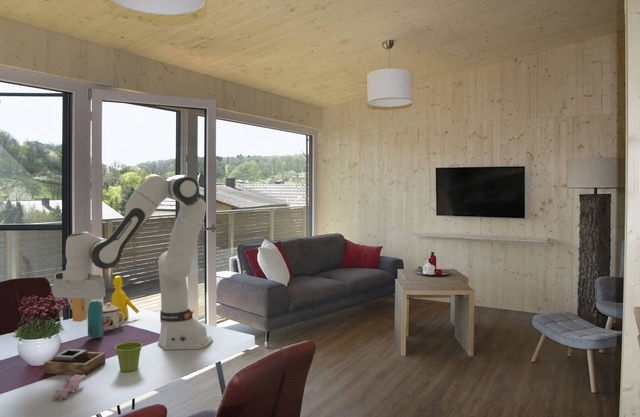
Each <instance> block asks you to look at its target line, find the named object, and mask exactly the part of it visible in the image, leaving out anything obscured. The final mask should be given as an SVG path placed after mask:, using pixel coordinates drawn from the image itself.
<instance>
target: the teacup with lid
mask: <svg viewBox="0 0 640 417" xmlns="http://www.w3.org/2000/svg"><path fill="white" fill-rule="evenodd" d="M111 303H112V302H107V303H106V305H104V306H102V307H103V324H104V325H103V327H104V329H103V331H110V330H111V331H112V330H115V329H117V328H119V327H120V323H123V321H124V320H125V319H124V318H125V315H124V314H123V313H122V312H119V307H117V306H114V305H111ZM119 314H121V315H122V316H123V318H122V320H120V319H119Z"/></svg>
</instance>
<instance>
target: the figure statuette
mask: <svg viewBox="0 0 640 417" xmlns="http://www.w3.org/2000/svg"><path fill="white" fill-rule="evenodd" d="M112 285H113V286H114V291H113V292H112V294H111V302H110V303H111V305H114V306H117V307H119V312H122V313H123V314H124V315H125V318H124V320H126V319H128V318H129V316H130V315H129V308H131V310H133V311H134V313H135V314H139V313H140V310H139V309H138V308H137V307H136V306H135V304H133V302H131V300H130V298H129V297H127V294H126V293H125V291H124V290H123V289H122V286H123V279H122V276H121V275H116V276H114V278H113V280H112ZM128 307H129V308H128ZM122 318H123V316H122V315H121V314H119V321H121V320H122Z"/></svg>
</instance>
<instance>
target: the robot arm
mask: <svg viewBox="0 0 640 417" xmlns="http://www.w3.org/2000/svg"><path fill="white" fill-rule="evenodd" d="M198 183H199V182H197V180H196V179H195V178H194V177H192V176H190V175H186V174H185V175H184V174H178V175H171V176H168V177H167V178H164V177H163V176H161V175H159V174H158V175H157V174H152V175H150V176H149V177H148V178H145V180H144V181H143V182H141V183H140V184H139V186H138V187H136V189H135V190H134V191H133V192H132V194H131V195H130V197H128V198H129V199H127V201H126V204H125V206H124V209H125V210H124V216H123V219H122V220H121V222H120V223H119V224H118V226H117V227H116V228H115V229H114V231H113V232H112V233H111V234H110V236H109V237H108V238H102V237H100V236H96V235H94V234H92V233H90V232H89V231H77V232H74V233H71V234H70V235H68V236H67V239H66V242H65V257H66V265H65V269H64V270H62V271H59V272H55V273H54V274H53V279H54V280H53V283H52V295H53V297H54V298H61V299H62V298H63V299H67V302H68V303H69V305H70V310H72V298H81V299H85V302H86V303H85V305H83V306H82V310H88V309H89V304H90V302H91V301H92V300H91V299H93V300H99V301H100V300H102V299H104V298H105V296H106V295H107V294H106V287H105V278H104V277H103V276H102V275H100V274H92V273H93V272H92V271H93V270H92V267H93V266H92V264H93V265H94V266H96V267H97V268H98V269H102V270H106V269H107V270H108V269H112V268H114V267H115V266H117V265H118V264H119V263H120V261H121V258H122V254H123V250H124V248H125V247H126V245H127V244H128V242H129V241H130V239H131V238H132V236H134V235H135V233H136V232H137V230H138V229H139V228H140V227H141V226H142V225H143V224H144V223H145V221H147V220H148V219H149V218H150V217H151V216H152V214H154V213H155V211H156V210H157V209H158V208H159V207H160V205H161V204H162V202H164V201H165V200H166V199H171V200H174V201H178V203H179V211H178V213H177V216H176V219H175V221H174V225H173V227H172V230H171V233H170V237H169V238H170V239H169V244H168V248H167V250H166V251H164V252H162V253H161V254H160V256H159V258H158V262H157V263H158V264H157V267H158V276H159V277H158V278H159V287H160V288H159V289H160V303H161V304H160V307H161V308H160V309H161V310H160V314H159V315H160V316H159V320H160V333H159V339H158V341H157V345H158V346H159V347H160V348H161V347H162V349H163V350H166V351H169V350H201V349H203V348H206V347H208V346H209V345H211V343H212V342H213V338H212V336H210V335H208V334H207V328H206V326H205V325H204V324H202V323H201V322H200V321H198V320H197V319H196V318H194V317H193V314H194V313H195V312H194V311H195V310H190V308H189V290H188V284H187V279H186V278H187V277H188V276H189V275H190V273H191V271H192V264H193V260H194V256H195V250H196V249H195V248H196V243H197V241H198V238H199V235H200V232H201V229H202V226H203V224H204V220H205V217H206V211H207V210H206V209H207V204H206V201H205V200H204V199H202V198H201V195H200V187H199V184H198Z"/></svg>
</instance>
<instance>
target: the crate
mask: <svg viewBox="0 0 640 417" xmlns="http://www.w3.org/2000/svg"><path fill="white" fill-rule="evenodd" d="M87 361H88V362H86V363H68V362H53V357H52V358H50V359H48V360H46V361H44V362H43V363H44V374H53V375H68V376H74V375H81V376H82V375H85V377H86V376H88V375H89V374H91V373H92V372H94V371H95V370H97V369H98V368H100V367H102V366H103V365H105V364H106V352H99V351H98V352H96V351H95V352H94V351H87Z"/></svg>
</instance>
